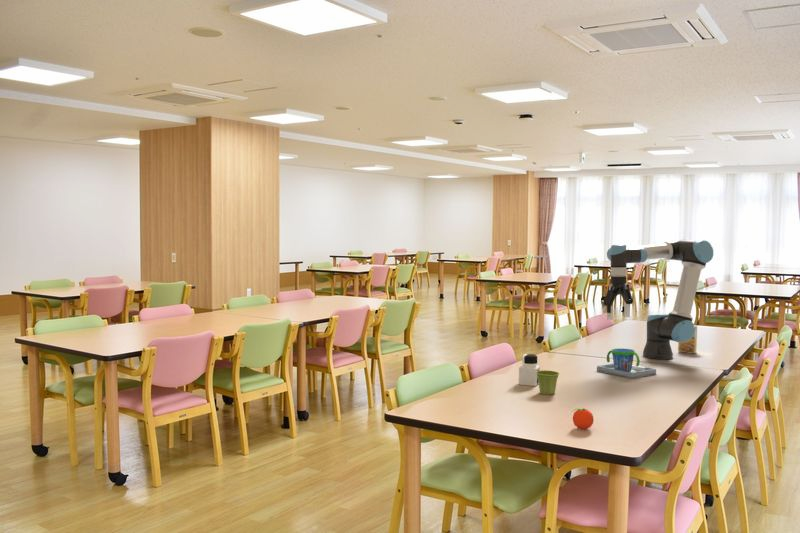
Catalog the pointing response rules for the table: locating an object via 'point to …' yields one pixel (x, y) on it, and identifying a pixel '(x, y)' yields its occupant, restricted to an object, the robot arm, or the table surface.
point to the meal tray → (635, 372)
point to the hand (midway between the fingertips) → (618, 318)
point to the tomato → (583, 418)
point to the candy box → (689, 344)
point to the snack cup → (623, 359)
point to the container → (529, 370)
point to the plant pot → (547, 381)
